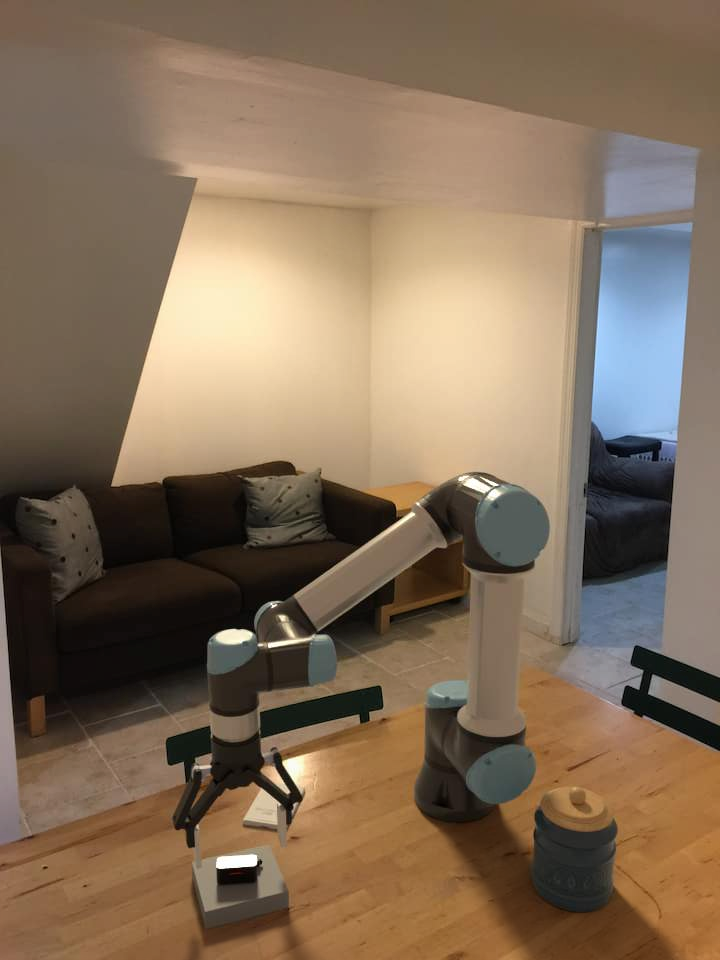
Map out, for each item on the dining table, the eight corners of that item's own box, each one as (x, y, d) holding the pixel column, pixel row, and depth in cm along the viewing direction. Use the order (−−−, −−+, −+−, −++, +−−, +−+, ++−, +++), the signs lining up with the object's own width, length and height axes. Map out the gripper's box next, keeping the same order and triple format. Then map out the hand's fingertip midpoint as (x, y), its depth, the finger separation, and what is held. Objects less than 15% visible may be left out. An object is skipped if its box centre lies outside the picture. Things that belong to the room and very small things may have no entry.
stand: (269, 859, 139) (269, 844, 139) (288, 907, 128) (288, 890, 128) (192, 877, 135) (191, 861, 134) (205, 929, 124) (205, 911, 123)
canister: (599, 926, 125) (607, 823, 121) (518, 894, 132) (524, 795, 128) (621, 877, 136) (630, 781, 132) (546, 849, 142) (552, 757, 139)
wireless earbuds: (262, 883, 129) (262, 865, 128) (216, 887, 128) (216, 868, 128) (262, 864, 134) (262, 846, 133) (218, 867, 133) (217, 849, 132)
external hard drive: (305, 794, 159) (285, 833, 147) (264, 788, 161) (242, 826, 149) (305, 786, 159) (285, 825, 147) (264, 781, 160) (242, 818, 148)
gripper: (306, 704, 133) (309, 820, 138) (149, 733, 125) (157, 856, 129) (320, 726, 126) (323, 848, 131) (155, 759, 118) (164, 887, 122)
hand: (240, 852), depth 130 cm, fingers open, 13 cm apart
